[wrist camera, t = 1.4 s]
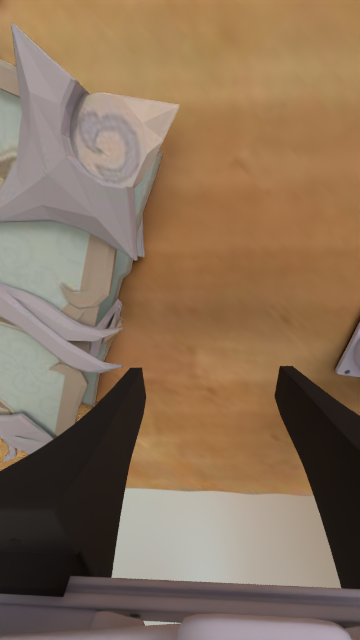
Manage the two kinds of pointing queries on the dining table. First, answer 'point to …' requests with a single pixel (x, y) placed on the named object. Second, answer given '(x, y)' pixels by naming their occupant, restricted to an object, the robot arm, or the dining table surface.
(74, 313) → the ornate book
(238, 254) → the dining table surface
